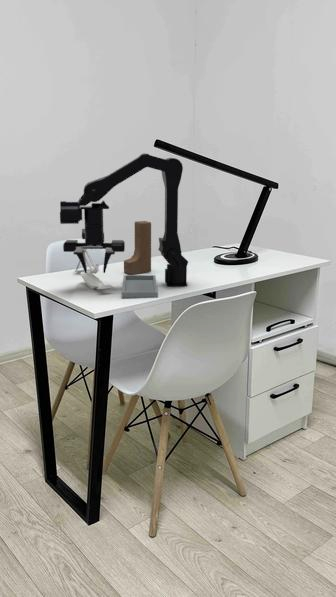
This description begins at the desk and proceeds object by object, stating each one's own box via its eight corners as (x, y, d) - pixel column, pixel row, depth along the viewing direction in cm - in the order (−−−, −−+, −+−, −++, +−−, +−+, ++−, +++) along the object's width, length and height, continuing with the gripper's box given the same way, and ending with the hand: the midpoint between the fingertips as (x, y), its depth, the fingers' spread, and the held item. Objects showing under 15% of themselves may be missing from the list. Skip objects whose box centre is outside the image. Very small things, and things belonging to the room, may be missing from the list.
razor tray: (155, 281, 188) (155, 275, 187) (157, 298, 166) (157, 292, 165) (123, 281, 187) (123, 275, 187) (121, 298, 165) (121, 292, 165)
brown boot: (129, 275, 196) (129, 223, 191) (123, 272, 199) (122, 222, 195) (151, 272, 201) (151, 222, 196) (145, 269, 204) (145, 220, 199)
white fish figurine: (92, 281, 186) (92, 269, 185) (114, 293, 171) (113, 281, 170) (76, 283, 184) (76, 271, 183) (97, 295, 169) (97, 283, 168)
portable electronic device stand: (96, 273, 198) (95, 250, 196) (74, 273, 198) (73, 250, 196) (99, 268, 207) (98, 245, 204) (77, 268, 207) (77, 245, 204)
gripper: (124, 220, 180) (125, 267, 185) (66, 220, 179) (68, 267, 184) (124, 225, 170) (124, 275, 174) (62, 224, 169) (64, 275, 173)
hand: (95, 272), depth 176 cm, fingers open, 5 cm apart
